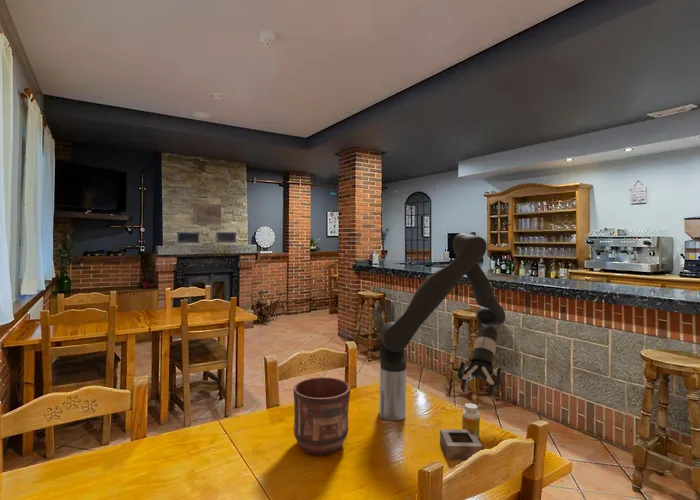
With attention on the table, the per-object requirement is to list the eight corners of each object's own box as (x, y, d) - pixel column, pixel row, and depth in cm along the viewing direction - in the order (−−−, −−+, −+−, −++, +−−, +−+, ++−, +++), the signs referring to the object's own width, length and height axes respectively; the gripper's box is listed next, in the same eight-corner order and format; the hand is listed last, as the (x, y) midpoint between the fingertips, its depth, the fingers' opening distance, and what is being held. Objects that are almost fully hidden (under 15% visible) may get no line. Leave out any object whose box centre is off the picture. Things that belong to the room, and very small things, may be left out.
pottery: (362, 444, 120) (362, 386, 120) (319, 468, 107) (320, 403, 107) (322, 426, 132) (323, 373, 132) (280, 445, 119) (280, 386, 119)
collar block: (447, 459, 112) (447, 445, 112) (439, 441, 122) (440, 429, 122) (482, 460, 112) (482, 446, 112) (471, 442, 122) (472, 429, 122)
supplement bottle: (480, 440, 124) (481, 410, 123) (462, 438, 125) (463, 408, 125) (478, 432, 129) (478, 403, 129) (461, 430, 130) (461, 401, 130)
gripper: (462, 344, 144) (453, 384, 134) (503, 349, 136) (497, 393, 127) (465, 354, 148) (457, 394, 139) (505, 361, 141) (499, 403, 132)
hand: (476, 394), depth 133 cm, fingers open, 8 cm apart
